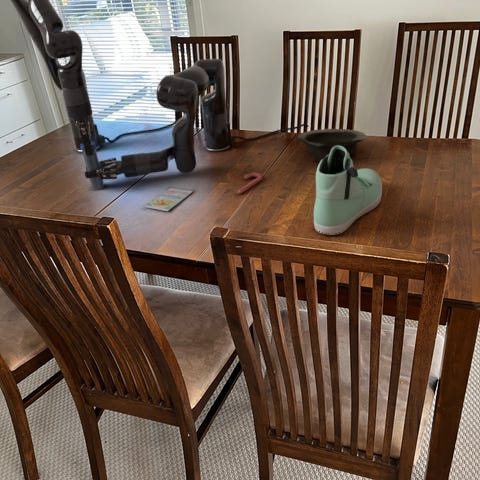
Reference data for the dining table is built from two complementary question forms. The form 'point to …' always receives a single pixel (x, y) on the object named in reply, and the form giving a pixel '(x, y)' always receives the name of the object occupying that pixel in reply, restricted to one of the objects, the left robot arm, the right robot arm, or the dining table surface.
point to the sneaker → (343, 192)
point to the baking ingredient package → (168, 199)
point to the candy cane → (250, 182)
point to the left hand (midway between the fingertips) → (89, 152)
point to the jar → (91, 165)
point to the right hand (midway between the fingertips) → (86, 172)
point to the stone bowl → (330, 141)
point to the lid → (91, 145)
